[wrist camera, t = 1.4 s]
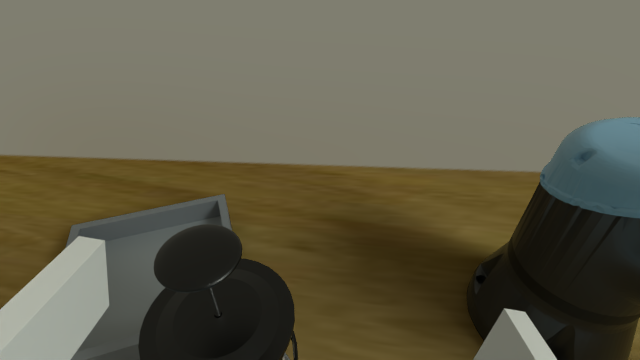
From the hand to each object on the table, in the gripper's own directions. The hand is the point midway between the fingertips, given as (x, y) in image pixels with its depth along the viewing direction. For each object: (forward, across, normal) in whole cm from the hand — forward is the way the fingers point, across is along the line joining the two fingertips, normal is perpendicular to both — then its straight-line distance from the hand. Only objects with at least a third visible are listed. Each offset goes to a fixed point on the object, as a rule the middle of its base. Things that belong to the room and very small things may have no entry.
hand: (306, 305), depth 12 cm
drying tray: (+24, -14, -24) cm, 37 cm away
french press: (+10, 0, -25) cm, 27 cm away
